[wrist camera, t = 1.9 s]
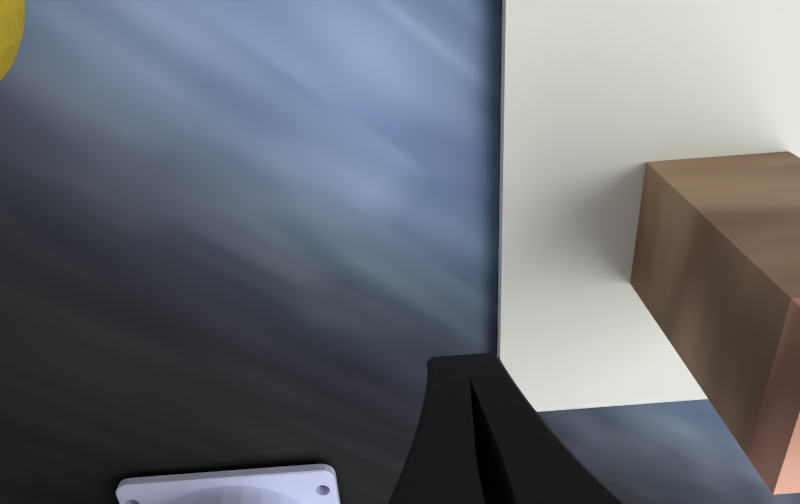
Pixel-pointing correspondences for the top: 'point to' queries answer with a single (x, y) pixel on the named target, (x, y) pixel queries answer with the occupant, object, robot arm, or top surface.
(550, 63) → the mat
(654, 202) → the walnut block
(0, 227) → the top surface
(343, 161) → the top surface
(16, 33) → the lemon
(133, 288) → the top surface
